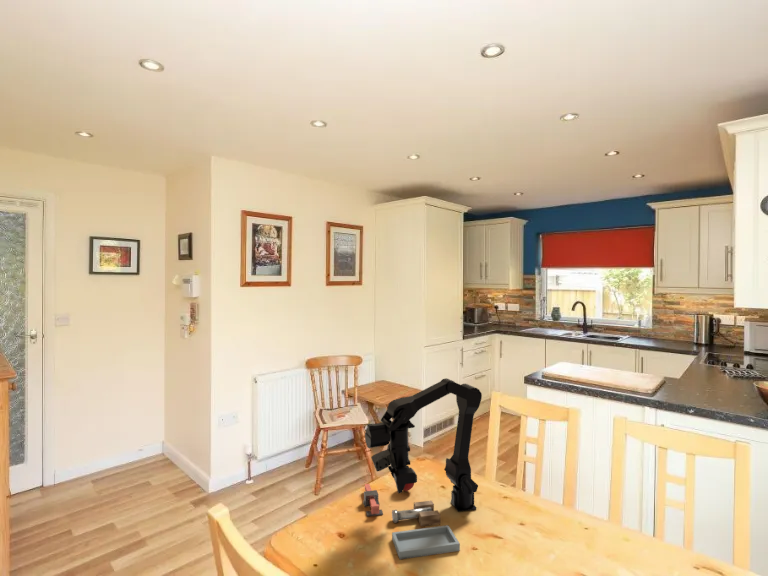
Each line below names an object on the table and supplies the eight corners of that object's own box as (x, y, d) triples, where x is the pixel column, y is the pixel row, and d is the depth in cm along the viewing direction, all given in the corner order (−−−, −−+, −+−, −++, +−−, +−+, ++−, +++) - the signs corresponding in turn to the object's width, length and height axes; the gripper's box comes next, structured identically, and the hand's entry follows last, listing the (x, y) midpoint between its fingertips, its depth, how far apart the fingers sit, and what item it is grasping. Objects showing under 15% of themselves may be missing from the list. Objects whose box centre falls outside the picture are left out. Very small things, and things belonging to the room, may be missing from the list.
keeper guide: (377, 500, 136) (377, 490, 136) (382, 514, 128) (382, 503, 128) (363, 502, 135) (363, 491, 135) (367, 516, 127) (367, 505, 127)
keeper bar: (370, 488, 142) (370, 481, 142) (379, 513, 127) (379, 505, 127) (363, 488, 142) (363, 482, 142) (371, 514, 126) (371, 506, 126)
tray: (448, 531, 119) (448, 525, 119) (459, 550, 110) (459, 543, 110) (392, 539, 115) (392, 532, 115) (399, 559, 107) (399, 552, 107)
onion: (414, 487, 145) (414, 465, 145) (414, 495, 139) (414, 472, 139) (398, 486, 145) (398, 464, 145) (397, 495, 140) (397, 472, 140)
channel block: (431, 509, 131) (431, 500, 131) (440, 524, 123) (440, 514, 123) (413, 511, 129) (413, 502, 129) (421, 526, 122) (421, 516, 122)
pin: (429, 514, 128) (429, 503, 128) (432, 519, 125) (432, 508, 125) (392, 518, 126) (391, 507, 126) (394, 525, 122) (394, 513, 122)
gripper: (368, 433, 132) (369, 481, 132) (379, 458, 114) (380, 512, 114) (401, 430, 134) (402, 477, 135) (417, 454, 116) (417, 507, 116)
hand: (399, 492), depth 125 cm, fingers closed
